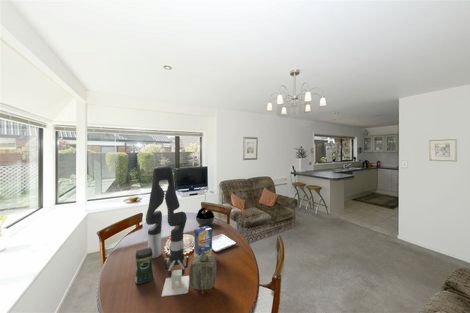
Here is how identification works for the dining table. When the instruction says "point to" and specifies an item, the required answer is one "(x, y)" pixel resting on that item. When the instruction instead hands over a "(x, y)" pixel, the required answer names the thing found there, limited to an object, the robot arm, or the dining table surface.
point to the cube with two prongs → (176, 277)
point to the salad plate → (221, 242)
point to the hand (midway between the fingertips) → (176, 275)
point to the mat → (176, 287)
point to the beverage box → (203, 240)
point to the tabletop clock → (202, 271)
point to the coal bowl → (205, 217)
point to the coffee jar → (143, 265)
